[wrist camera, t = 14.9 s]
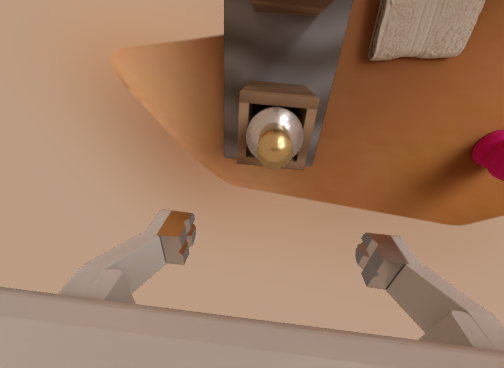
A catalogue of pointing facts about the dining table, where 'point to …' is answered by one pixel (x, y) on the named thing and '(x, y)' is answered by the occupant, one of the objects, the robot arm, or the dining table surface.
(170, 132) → the dining table surface
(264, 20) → the grey holder stand
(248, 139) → the plunger
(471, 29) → the washcloth
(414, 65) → the dining table surface
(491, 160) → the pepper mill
